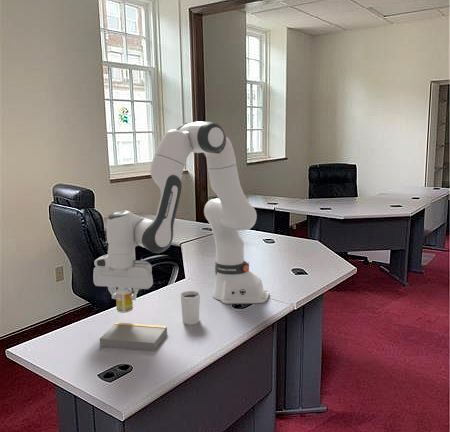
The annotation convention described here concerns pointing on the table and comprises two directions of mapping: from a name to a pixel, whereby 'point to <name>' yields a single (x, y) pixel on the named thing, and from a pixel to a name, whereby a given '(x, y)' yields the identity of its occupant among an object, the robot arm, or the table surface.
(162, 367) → the table surface
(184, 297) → the white coffee cup
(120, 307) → the supplement bottle
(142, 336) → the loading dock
